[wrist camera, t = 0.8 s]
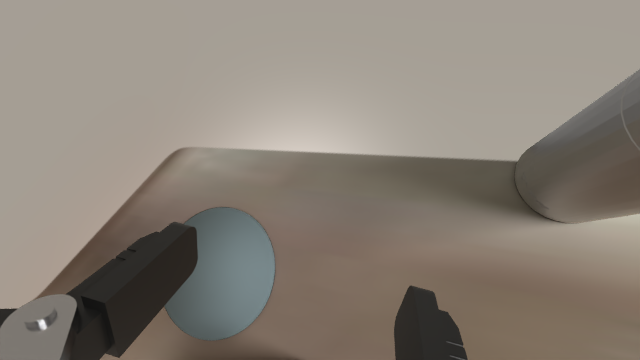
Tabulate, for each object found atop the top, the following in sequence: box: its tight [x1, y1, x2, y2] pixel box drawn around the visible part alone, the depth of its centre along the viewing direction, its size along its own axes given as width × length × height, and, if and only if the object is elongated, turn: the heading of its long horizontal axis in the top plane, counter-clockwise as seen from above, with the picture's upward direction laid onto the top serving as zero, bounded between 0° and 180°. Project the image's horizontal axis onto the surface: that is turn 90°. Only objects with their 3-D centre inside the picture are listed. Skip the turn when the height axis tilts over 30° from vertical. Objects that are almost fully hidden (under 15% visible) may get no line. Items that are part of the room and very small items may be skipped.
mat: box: [165, 207, 275, 340], centre depth 35 cm, size 16×16×1 cm
